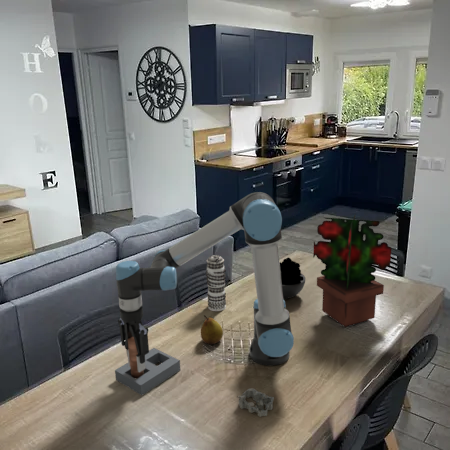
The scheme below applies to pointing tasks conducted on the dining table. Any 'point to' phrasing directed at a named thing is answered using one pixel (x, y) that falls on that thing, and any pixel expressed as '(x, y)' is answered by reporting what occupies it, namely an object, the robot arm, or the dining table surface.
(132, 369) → the peg
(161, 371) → the socket block
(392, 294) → the dining table surface
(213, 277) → the decorative candle
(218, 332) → the fruit
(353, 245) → the potted plant
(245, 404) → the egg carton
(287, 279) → the bowl of black rocks
